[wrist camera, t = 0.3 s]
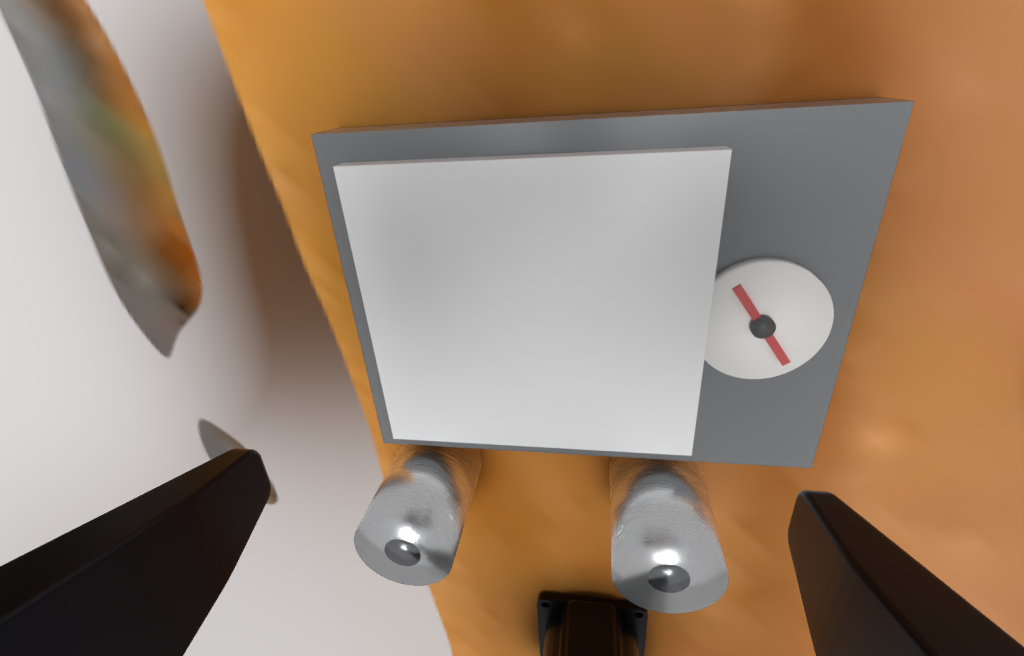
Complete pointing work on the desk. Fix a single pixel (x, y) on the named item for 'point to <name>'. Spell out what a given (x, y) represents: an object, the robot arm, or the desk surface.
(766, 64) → the desk surface
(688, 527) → the spacer
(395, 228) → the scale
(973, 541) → the desk surface
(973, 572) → the desk surface
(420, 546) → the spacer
